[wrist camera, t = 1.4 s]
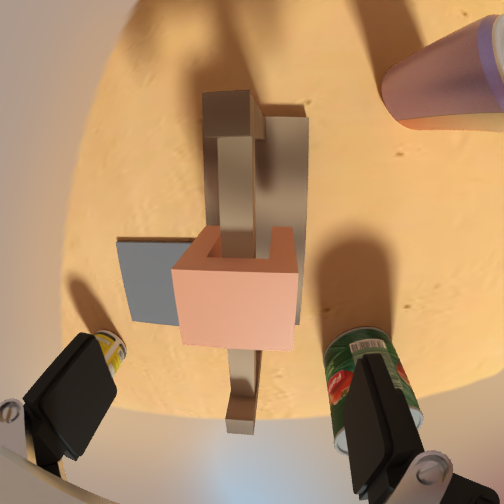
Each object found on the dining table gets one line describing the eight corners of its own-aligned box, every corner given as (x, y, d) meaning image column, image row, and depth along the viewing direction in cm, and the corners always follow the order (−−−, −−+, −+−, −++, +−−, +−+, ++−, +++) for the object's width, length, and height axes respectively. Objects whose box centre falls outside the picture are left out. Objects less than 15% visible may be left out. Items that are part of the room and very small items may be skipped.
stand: (206, 119, 21) (121, 100, 9) (307, 118, 21) (345, 88, 8) (216, 314, 28) (177, 427, 15) (298, 317, 27) (305, 437, 15)
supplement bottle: (89, 336, 32) (55, 378, 24) (108, 323, 30) (71, 368, 22) (114, 363, 33) (85, 407, 25) (134, 352, 31) (105, 401, 24)
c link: (206, 225, 18) (171, 269, 12) (292, 226, 17) (298, 273, 11) (210, 283, 19) (182, 344, 13) (289, 286, 19) (292, 351, 13)
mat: (117, 241, 26) (115, 242, 26) (205, 242, 25) (204, 243, 25) (133, 318, 29) (132, 320, 29) (212, 326, 29) (211, 328, 28)
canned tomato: (398, 360, 29) (427, 434, 18) (337, 387, 31) (349, 465, 21) (380, 313, 27) (417, 393, 16) (311, 346, 29) (319, 432, 18)
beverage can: (365, 97, 20) (475, 52, 6) (399, 51, 17) (507, -11, 4) (417, 144, 20) (549, 166, 6) (448, 98, 18) (574, 88, 4)
